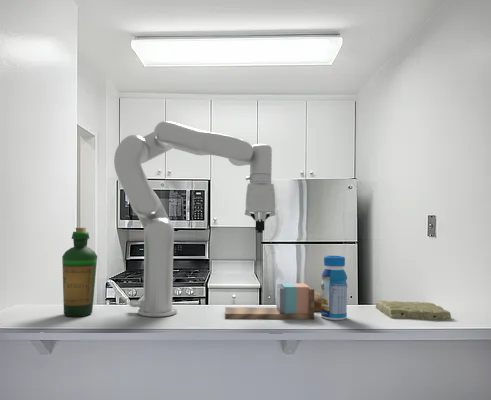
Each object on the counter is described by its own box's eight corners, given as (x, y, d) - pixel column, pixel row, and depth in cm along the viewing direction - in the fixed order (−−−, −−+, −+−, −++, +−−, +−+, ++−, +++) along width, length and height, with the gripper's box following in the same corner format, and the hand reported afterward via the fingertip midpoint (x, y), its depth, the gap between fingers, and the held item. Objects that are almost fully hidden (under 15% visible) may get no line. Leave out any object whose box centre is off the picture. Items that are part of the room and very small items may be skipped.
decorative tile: (375, 308, 160) (375, 299, 160) (430, 310, 159) (430, 300, 159) (390, 320, 141) (390, 309, 141) (453, 322, 141) (453, 311, 141)
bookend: (279, 312, 140) (280, 288, 140) (276, 307, 149) (276, 284, 149) (284, 312, 140) (284, 288, 140) (280, 307, 149) (281, 284, 149)
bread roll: (323, 323, 150) (333, 302, 150) (296, 308, 152) (306, 288, 151) (322, 316, 160) (332, 297, 160) (297, 303, 161) (306, 284, 161)
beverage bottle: (341, 322, 136) (342, 258, 137) (316, 318, 141) (317, 256, 141) (350, 317, 143) (351, 256, 144) (326, 313, 148) (327, 254, 149)
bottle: (52, 317, 136) (55, 227, 138) (73, 310, 147) (76, 227, 148) (82, 319, 134) (85, 228, 135) (102, 312, 144) (104, 227, 145)
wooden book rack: (225, 318, 138) (225, 288, 139) (225, 311, 148) (225, 283, 149) (313, 319, 140) (314, 289, 140) (308, 312, 150) (308, 284, 150)
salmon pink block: (296, 313, 140) (296, 287, 141) (292, 308, 148) (292, 283, 149) (308, 313, 141) (309, 287, 141) (304, 308, 149) (304, 283, 149)
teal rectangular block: (284, 313, 140) (284, 286, 141) (281, 308, 148) (281, 283, 148) (296, 313, 140) (296, 287, 141) (292, 308, 148) (293, 283, 149)
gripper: (239, 178, 148) (238, 232, 147) (283, 179, 148) (282, 233, 148) (238, 180, 155) (238, 232, 154) (280, 181, 156) (279, 232, 155)
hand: (259, 232), depth 151 cm, fingers closed
